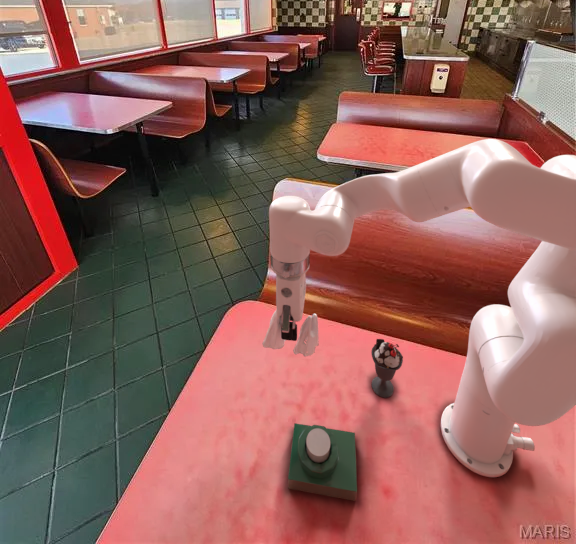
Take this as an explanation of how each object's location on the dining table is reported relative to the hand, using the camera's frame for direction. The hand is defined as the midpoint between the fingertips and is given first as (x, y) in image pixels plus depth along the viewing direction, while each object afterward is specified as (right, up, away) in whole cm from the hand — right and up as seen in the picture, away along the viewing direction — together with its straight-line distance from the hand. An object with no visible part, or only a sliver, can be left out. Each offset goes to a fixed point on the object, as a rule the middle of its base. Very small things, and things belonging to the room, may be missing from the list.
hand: (290, 328), depth 70 cm
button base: (+6, -22, -7) cm, 24 cm away
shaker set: (0, -5, +2) cm, 6 cm away
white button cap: (+5, -18, -9) cm, 20 cm away
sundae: (+21, -17, +6) cm, 28 cm away
